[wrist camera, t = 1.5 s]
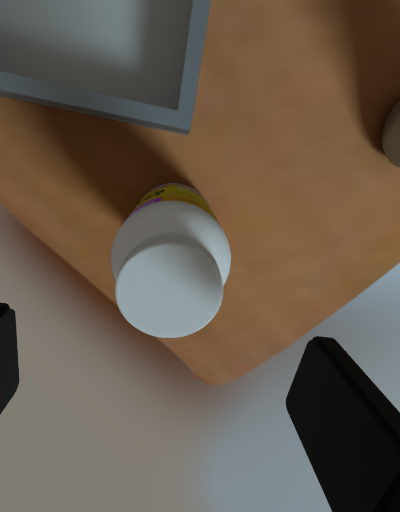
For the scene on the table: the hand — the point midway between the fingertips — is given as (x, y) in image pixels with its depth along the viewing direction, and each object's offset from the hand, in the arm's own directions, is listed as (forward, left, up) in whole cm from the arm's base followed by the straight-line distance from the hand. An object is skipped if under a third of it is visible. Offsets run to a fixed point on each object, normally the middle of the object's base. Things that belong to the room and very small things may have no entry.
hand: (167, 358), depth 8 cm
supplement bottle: (-1, 0, -16) cm, 16 cm away
